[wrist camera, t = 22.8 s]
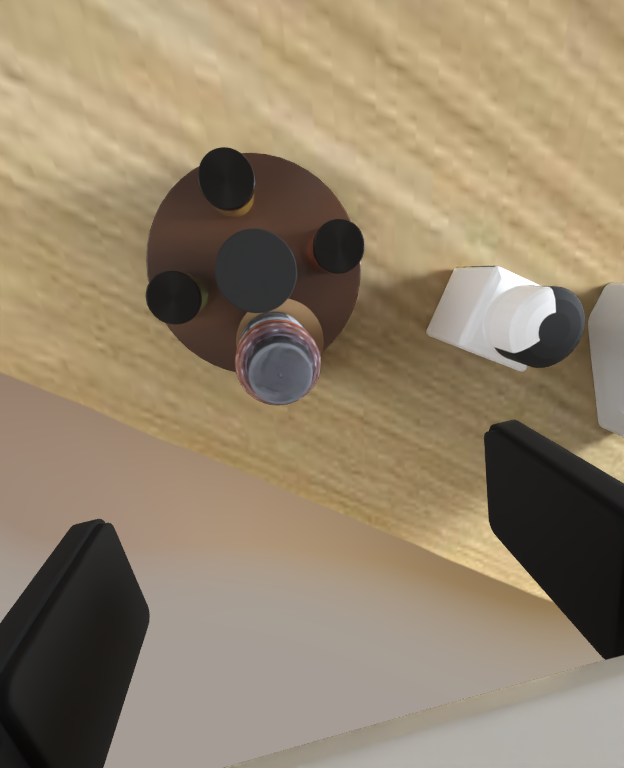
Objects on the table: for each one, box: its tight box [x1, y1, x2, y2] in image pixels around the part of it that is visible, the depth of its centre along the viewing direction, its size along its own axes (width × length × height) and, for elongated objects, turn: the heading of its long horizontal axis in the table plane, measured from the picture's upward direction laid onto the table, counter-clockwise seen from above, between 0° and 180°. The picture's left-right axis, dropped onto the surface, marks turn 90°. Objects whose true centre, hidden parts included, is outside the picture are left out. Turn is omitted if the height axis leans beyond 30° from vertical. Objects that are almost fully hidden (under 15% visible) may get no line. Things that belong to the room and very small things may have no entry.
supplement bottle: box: [235, 312, 321, 405], centre depth 29 cm, size 6×6×11 cm
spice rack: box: [146, 147, 365, 372], centre depth 28 cm, size 19×18×12 cm
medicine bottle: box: [426, 266, 585, 371], centre depth 33 cm, size 7×7×12 cm
